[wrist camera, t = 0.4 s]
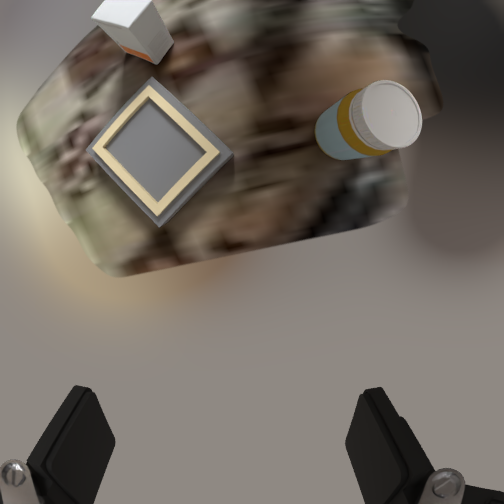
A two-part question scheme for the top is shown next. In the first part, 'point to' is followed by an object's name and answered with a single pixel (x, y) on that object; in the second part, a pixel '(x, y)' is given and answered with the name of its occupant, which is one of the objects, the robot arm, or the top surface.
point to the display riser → (158, 151)
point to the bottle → (369, 122)
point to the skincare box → (135, 27)
